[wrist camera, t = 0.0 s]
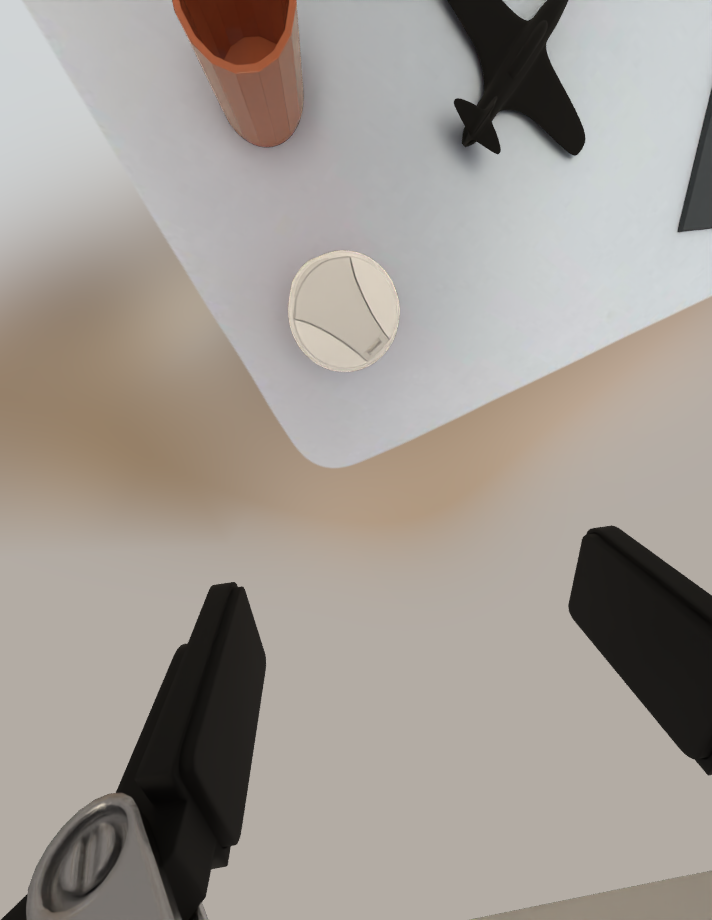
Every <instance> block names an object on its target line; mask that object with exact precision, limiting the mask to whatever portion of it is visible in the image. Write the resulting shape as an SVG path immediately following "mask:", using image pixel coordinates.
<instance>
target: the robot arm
mask: <svg viewBox="0 0 712 920" xmlns="http://www.w3.org/2000/svg"><path fill="white" fill-rule="evenodd" d="M569 612H570V614H571V616H572V618H573V620H574V621H575V622H576V623H577V624H578V626H579V627H580V628H581V629H582V630H583V632H584V633H585V634H586V635H587V637H588V638H589V639H590V640H591V641H592V643H593V644H594V645H595V646H596V648H597V649H598V650H599V651H600V652H601V654H602V655H603V656H604V657H605V658H606V660H607V661H608V662H609V663H610V665H611V666H612V667H613V668H614V669H615V671H616V672H617V673H618V674H619V675H620V677H621V678H622V679H623V680H624V681H625V683H626V684H627V685H628V686H629V688H630V689H631V690H632V691H633V693H634V694H635V695H636V696H637V697H638V699H639V700H640V701H641V702H642V703H643V705H644V706H645V707H646V708H647V709H648V711H649V712H650V713H651V714H652V715H653V717H654V718H655V719H656V720H657V721H658V723H659V724H660V725H661V727H662V728H663V729H664V730H665V731H666V732H667V733H668V735H669V736H670V737H671V739H672V740H673V741H674V742H675V743H676V745H677V746H678V747H679V748H680V749H681V751H682V752H683V753H684V754H686V755H687V756H688V757H690V758H692V759H695V760H696V762H697V763H698V764H699V765H700V766H701V767H702V769H703V770H704V771H705V772H706V774H707V775H712V596H711V595H710V594H709V593H707V592H706V591H705V590H703V589H702V588H700V587H699V586H698V585H696V584H695V583H694V582H692V581H691V580H689V579H688V578H687V577H685V576H684V575H682V574H681V573H680V572H678V571H677V570H676V569H674V568H673V567H671V566H670V565H669V564H667V563H666V562H664V561H663V560H662V559H660V558H659V557H658V556H656V555H655V554H654V553H652V552H651V551H649V550H648V549H647V548H645V547H644V546H643V545H641V544H640V543H638V542H637V541H636V540H634V539H633V538H632V537H630V536H629V535H627V534H626V533H625V532H623V531H622V530H620V529H619V528H617V527H615V526H606V527H599V528H593V529H590V530H589V531H588V532H587V534H586V535H585V536H584V537H583V539H582V543H581V548H580V552H579V557H578V563H577V567H576V572H575V576H574V581H573V586H572V591H571V596H570V600H569ZM265 670H266V657H265V652H264V649H263V646H262V643H261V640H260V636H259V633H258V630H257V627H256V624H255V620H254V617H253V614H252V611H251V608H250V604H249V601H248V598H247V595H246V592H245V589H244V587H238V586H237V584H236V583H235V582H231V583H224V584H218V585H213V586H211V588H210V589H209V592H208V594H207V597H206V599H205V602H204V604H203V607H202V609H201V612H200V615H199V617H198V619H197V622H196V624H195V627H194V630H193V632H192V635H191V637H190V640H189V642H188V644H183V645H181V646H180V647H179V648H178V649H177V651H176V653H175V655H174V657H173V659H172V661H171V664H170V666H169V668H168V671H167V673H166V676H165V678H164V680H163V683H162V685H161V687H160V690H159V692H158V694H157V697H156V699H155V702H154V704H153V706H152V709H151V711H150V713H149V716H148V718H147V720H146V723H145V725H144V728H143V730H142V732H141V735H140V737H139V740H138V742H137V744H136V746H135V749H134V751H133V754H132V756H131V758H130V761H129V763H128V765H127V768H126V770H125V772H124V775H123V777H122V780H121V782H120V784H119V787H118V789H117V791H116V793H113V794H112V793H111V794H107V795H105V796H103V797H100V798H98V799H95V800H94V801H92V802H91V803H89V804H88V805H86V806H85V807H84V808H82V809H81V810H79V811H78V812H77V813H76V814H75V815H74V816H73V817H72V818H71V819H70V820H69V821H68V822H67V823H66V824H65V825H64V826H63V827H62V828H61V830H60V831H59V832H58V833H57V835H56V836H55V837H54V838H53V840H52V841H51V843H50V844H49V845H48V847H47V848H46V850H45V852H44V854H43V856H42V857H41V859H40V861H39V863H38V865H37V866H36V869H35V871H34V874H33V877H32V879H31V883H30V885H29V888H28V894H27V895H26V896H25V897H24V898H23V899H22V900H21V901H20V902H19V903H18V904H17V905H16V906H15V907H14V908H13V909H12V910H11V911H10V912H8V913H7V914H6V915H5V916H4V917H3V918H2V919H1V920H208V918H207V915H206V912H205V909H204V907H203V904H202V901H203V900H204V898H205V897H206V892H207V887H208V882H209V877H210V872H211V869H215V868H220V867H226V866H227V865H228V859H229V853H230V847H231V846H232V845H236V844H237V843H238V841H239V838H240V835H241V829H242V823H243V816H244V810H245V803H246V796H247V790H248V783H249V776H250V770H251V763H252V756H253V750H254V743H255V737H256V730H257V723H258V717H259V710H260V703H261V696H262V690H263V684H264V677H265ZM471 920H712V871H707V872H703V873H697V874H692V875H687V876H682V877H677V878H672V879H667V880H662V881H657V882H652V883H647V884H642V885H637V886H632V887H628V888H623V889H617V890H612V891H607V892H603V893H598V894H593V895H588V896H583V897H578V898H573V899H568V900H563V901H558V902H553V903H548V904H544V905H539V906H534V907H529V908H524V909H519V910H514V911H510V912H504V913H499V914H495V915H490V916H485V917H481V918H475V919H471Z"/></svg>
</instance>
